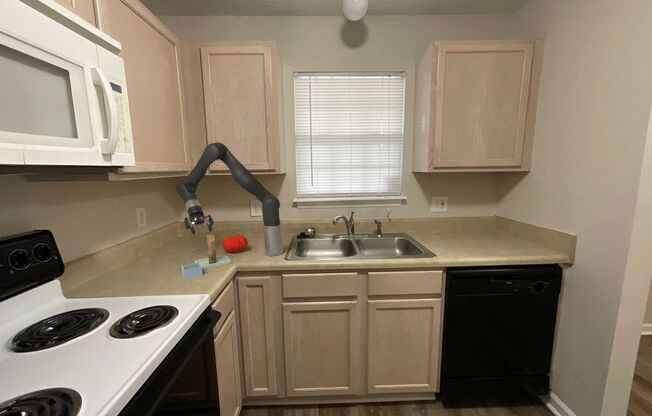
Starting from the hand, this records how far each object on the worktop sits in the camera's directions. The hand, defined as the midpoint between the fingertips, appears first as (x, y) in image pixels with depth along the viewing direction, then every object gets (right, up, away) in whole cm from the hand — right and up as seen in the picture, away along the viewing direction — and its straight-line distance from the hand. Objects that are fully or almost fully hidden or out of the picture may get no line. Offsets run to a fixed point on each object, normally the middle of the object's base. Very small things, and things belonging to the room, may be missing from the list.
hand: (202, 232), depth 148 cm
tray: (+8, -16, -6) cm, 19 cm away
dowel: (+8, -15, -6) cm, 18 cm away
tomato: (+12, -13, +18) cm, 25 cm away
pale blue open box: (+5, -18, -21) cm, 28 cm away
